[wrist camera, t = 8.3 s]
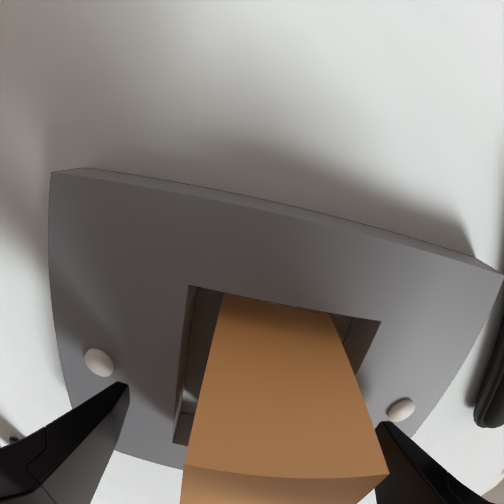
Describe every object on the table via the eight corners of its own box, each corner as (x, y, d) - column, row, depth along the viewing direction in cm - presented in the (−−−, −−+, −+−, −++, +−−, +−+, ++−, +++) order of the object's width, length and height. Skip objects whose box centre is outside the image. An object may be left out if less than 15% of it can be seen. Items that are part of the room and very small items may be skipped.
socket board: (364, 456, 14) (371, 483, 12) (94, 412, 13) (79, 439, 11) (476, 258, 10) (508, 277, 8) (83, 167, 9) (47, 172, 7)
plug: (286, 416, 13) (295, 547, 6) (203, 403, 13) (176, 536, 6) (329, 313, 11) (389, 473, 4) (224, 293, 11) (183, 463, 4)
